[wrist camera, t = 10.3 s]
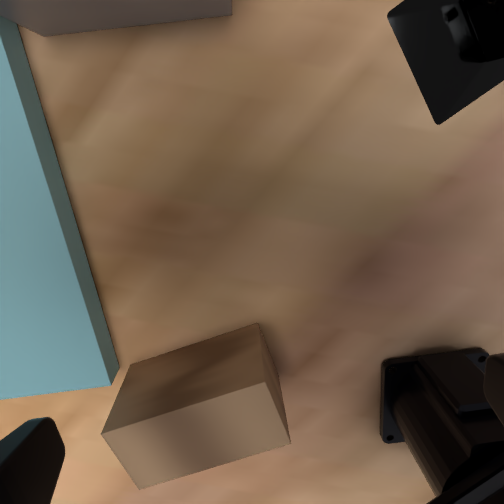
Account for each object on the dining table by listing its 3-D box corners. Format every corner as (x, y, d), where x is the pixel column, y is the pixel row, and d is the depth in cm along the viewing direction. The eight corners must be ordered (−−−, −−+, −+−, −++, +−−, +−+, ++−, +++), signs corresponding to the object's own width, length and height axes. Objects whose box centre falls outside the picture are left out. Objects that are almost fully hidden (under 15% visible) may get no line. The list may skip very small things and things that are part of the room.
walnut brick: (257, 321, 20) (265, 381, 15) (278, 373, 21) (291, 443, 17) (131, 363, 20) (100, 434, 16) (159, 411, 22) (139, 490, 17)
